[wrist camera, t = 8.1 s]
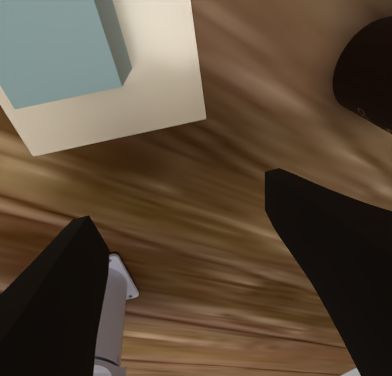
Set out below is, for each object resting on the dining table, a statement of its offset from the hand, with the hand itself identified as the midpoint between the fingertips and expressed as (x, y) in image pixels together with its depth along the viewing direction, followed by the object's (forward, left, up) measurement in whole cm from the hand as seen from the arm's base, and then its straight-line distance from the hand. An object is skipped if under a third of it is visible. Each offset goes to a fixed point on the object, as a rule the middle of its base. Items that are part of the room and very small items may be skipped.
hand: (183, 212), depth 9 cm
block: (-3, +7, -8) cm, 11 cm away
